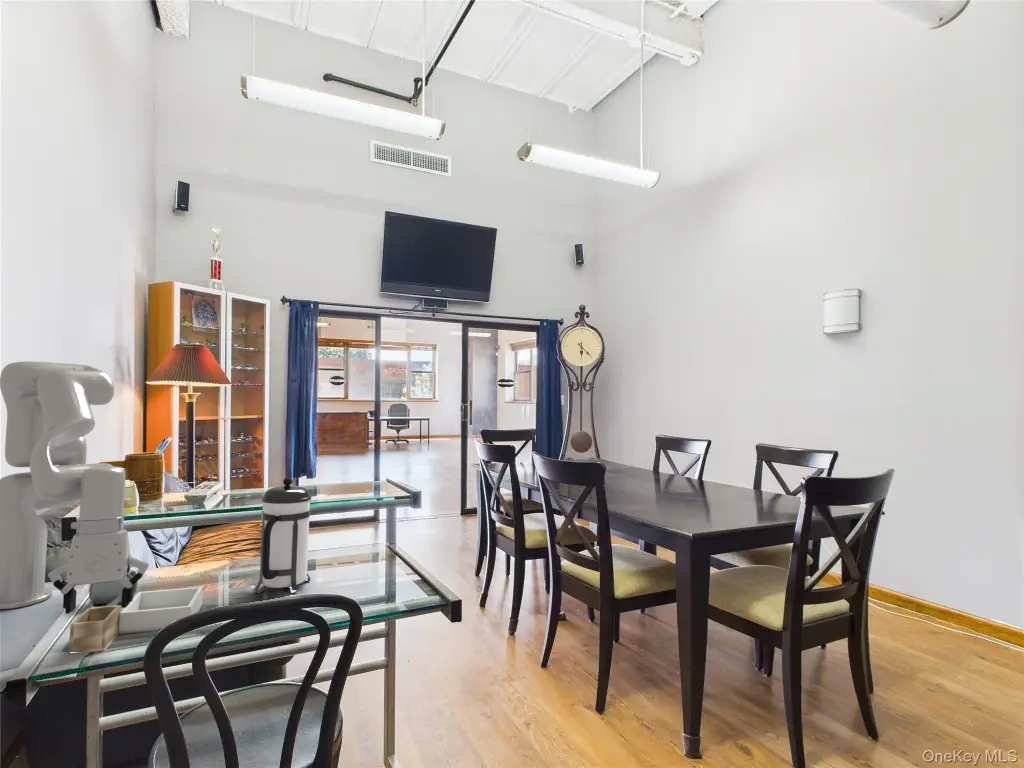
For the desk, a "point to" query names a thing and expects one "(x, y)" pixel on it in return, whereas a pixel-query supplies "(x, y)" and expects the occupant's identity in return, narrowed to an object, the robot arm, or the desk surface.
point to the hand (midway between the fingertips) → (98, 608)
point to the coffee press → (284, 536)
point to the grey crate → (159, 609)
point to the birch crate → (94, 629)
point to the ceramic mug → (109, 592)
